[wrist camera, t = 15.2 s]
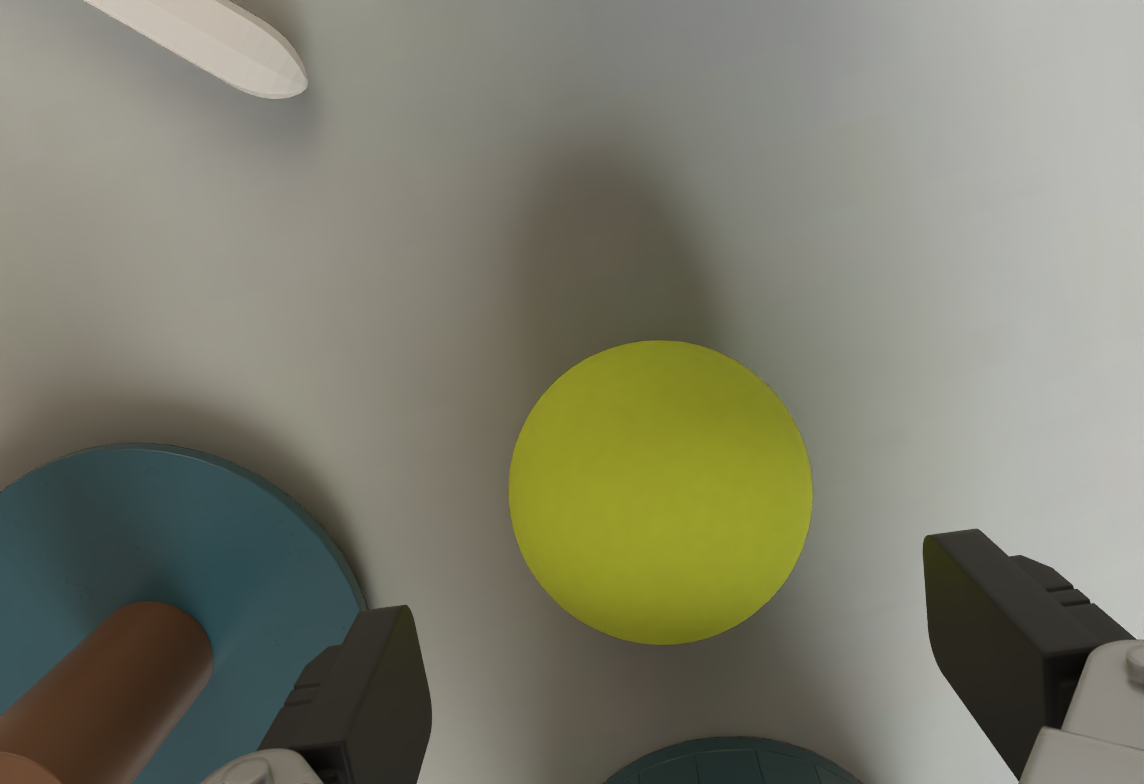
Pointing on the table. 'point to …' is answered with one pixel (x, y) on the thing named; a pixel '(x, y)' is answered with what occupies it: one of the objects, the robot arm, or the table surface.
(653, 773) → the tube
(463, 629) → the table surface
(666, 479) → the tennis ball
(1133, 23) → the table surface
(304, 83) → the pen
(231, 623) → the tube lid
